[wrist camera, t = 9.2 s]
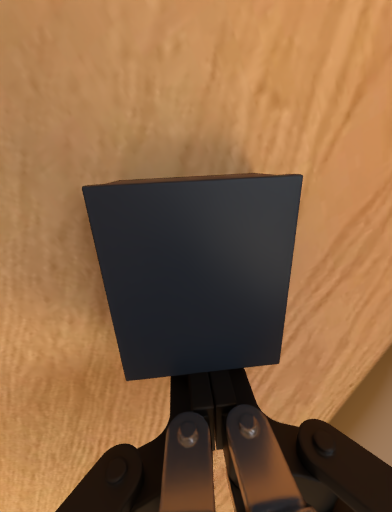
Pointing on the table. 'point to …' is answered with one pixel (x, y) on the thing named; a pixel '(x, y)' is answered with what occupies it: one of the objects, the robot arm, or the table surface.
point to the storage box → (196, 269)
